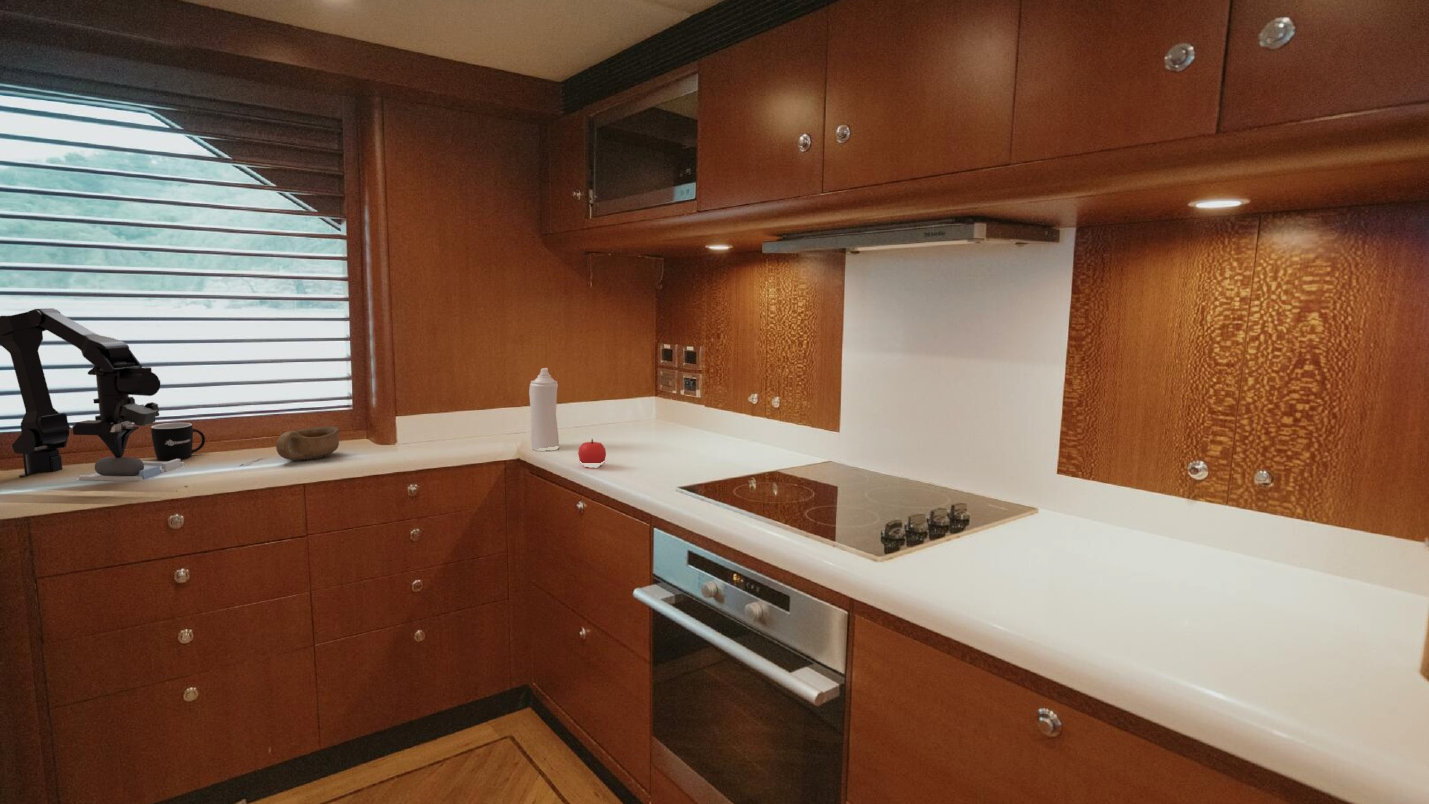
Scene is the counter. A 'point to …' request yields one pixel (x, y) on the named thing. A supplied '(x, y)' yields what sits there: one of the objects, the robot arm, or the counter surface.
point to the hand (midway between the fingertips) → (119, 457)
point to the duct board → (149, 471)
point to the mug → (174, 441)
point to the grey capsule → (119, 466)
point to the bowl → (308, 443)
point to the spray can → (543, 411)
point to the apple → (592, 452)
